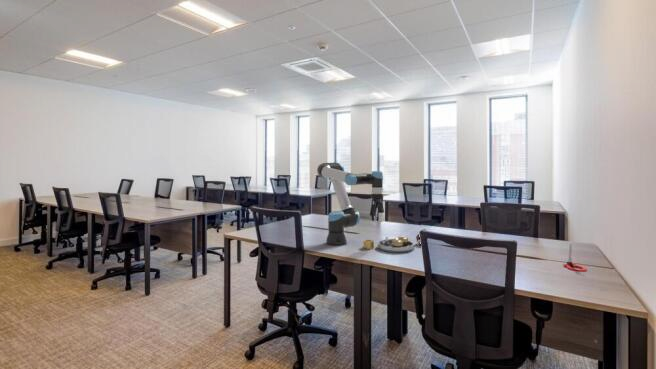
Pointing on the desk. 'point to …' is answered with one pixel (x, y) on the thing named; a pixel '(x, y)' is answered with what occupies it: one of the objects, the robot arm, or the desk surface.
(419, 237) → the brake caliper
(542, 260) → the desk surface
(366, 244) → the planet gear
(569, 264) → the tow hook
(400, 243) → the carrier plate
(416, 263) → the desk surface
